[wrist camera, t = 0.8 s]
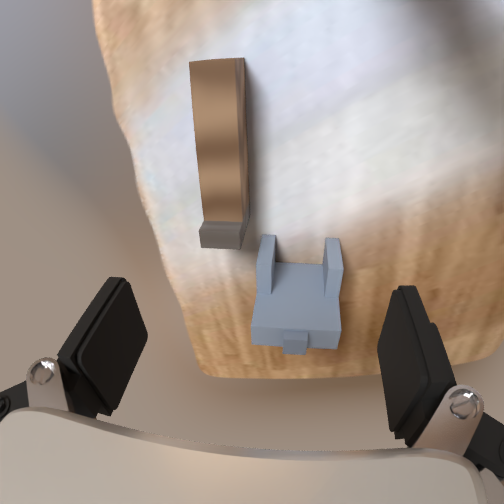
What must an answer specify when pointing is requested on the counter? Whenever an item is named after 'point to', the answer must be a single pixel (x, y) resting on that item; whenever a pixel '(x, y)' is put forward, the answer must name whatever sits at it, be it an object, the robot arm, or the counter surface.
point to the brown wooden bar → (221, 150)
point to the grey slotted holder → (297, 300)
